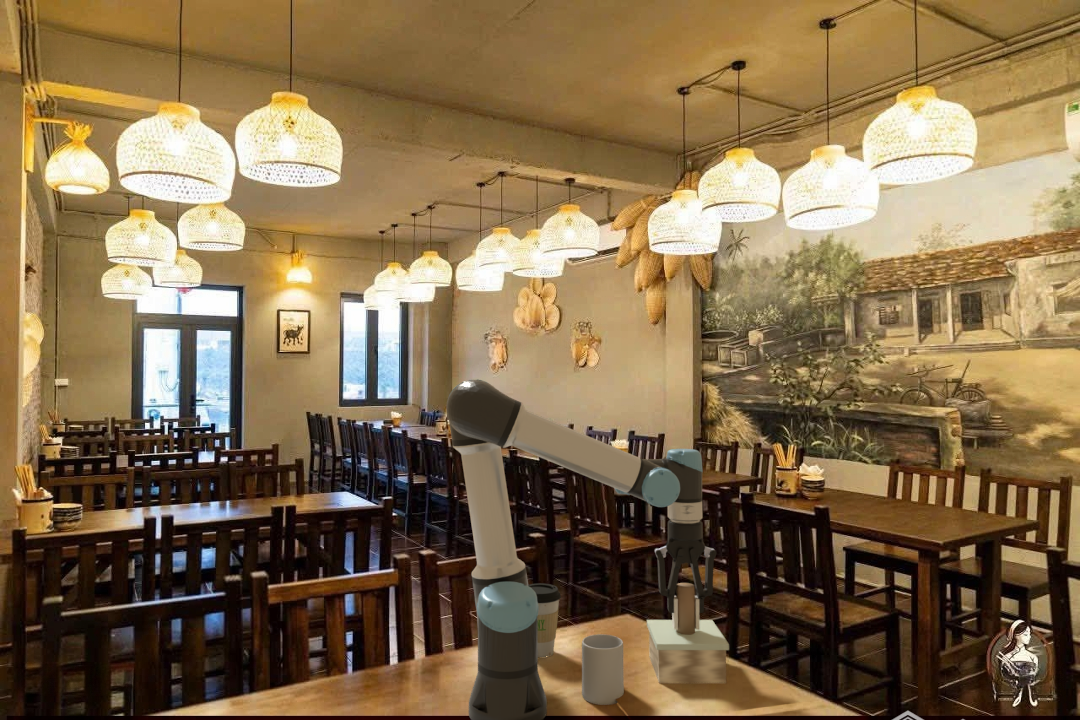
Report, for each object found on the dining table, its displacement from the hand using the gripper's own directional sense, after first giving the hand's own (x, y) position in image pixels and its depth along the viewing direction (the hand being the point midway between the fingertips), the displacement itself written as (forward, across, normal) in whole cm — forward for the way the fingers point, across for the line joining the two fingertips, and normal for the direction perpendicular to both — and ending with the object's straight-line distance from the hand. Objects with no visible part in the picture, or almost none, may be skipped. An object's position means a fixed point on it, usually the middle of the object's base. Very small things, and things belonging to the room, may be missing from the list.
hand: (685, 627), depth 156 cm
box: (+10, 0, 0) cm, 10 cm away
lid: (+3, 0, 0) cm, 3 cm away
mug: (+10, -19, -9) cm, 23 cm away
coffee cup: (+10, -32, +12) cm, 36 cm away
